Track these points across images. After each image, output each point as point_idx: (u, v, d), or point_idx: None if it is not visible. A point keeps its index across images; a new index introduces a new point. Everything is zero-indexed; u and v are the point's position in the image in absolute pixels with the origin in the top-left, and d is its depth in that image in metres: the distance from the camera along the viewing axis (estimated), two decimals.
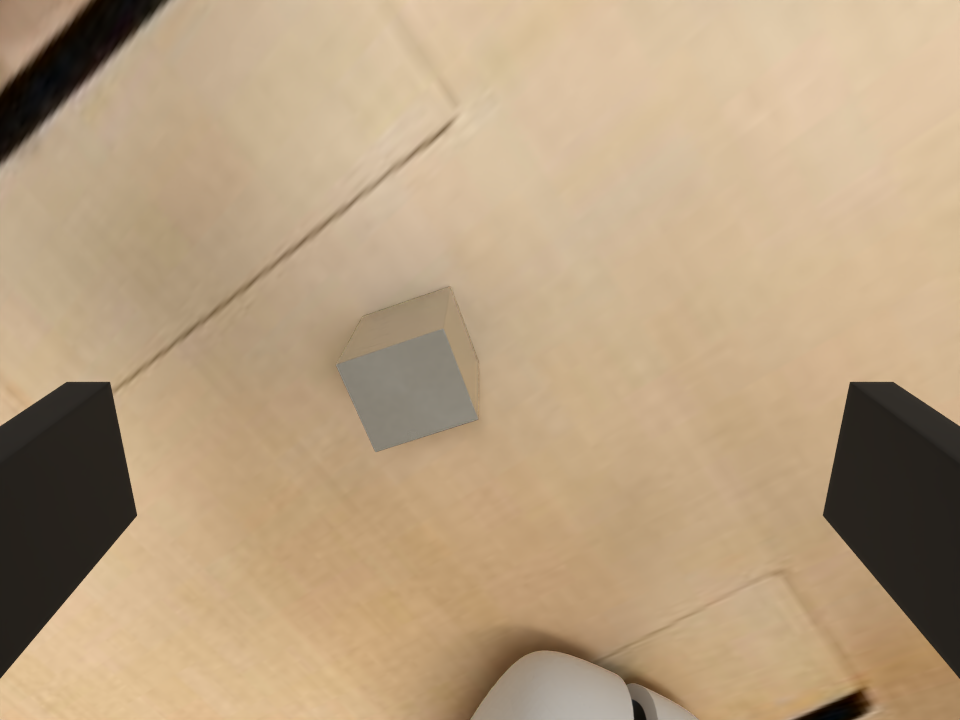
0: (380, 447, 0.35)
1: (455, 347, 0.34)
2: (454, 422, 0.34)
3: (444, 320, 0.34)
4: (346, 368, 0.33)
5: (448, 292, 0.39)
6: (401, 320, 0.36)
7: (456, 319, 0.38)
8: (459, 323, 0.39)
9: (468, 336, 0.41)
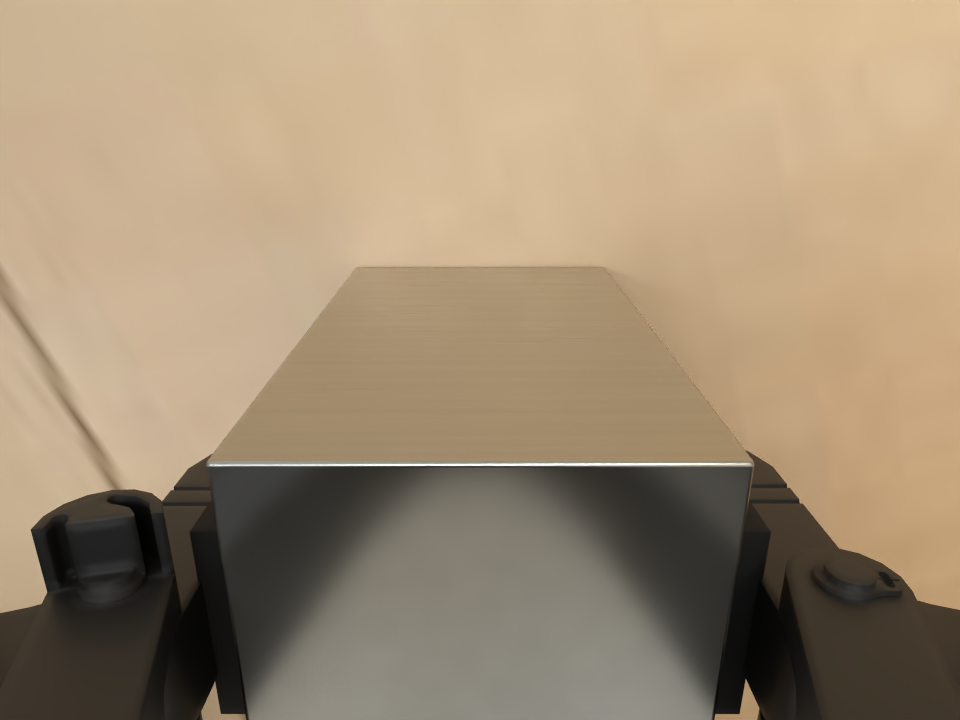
0: None
1: (388, 402, 0.07)
2: (714, 573, 0.07)
3: (252, 404, 0.08)
4: None
5: None
6: None
7: (404, 303, 0.11)
8: (433, 294, 0.12)
9: (511, 271, 0.13)
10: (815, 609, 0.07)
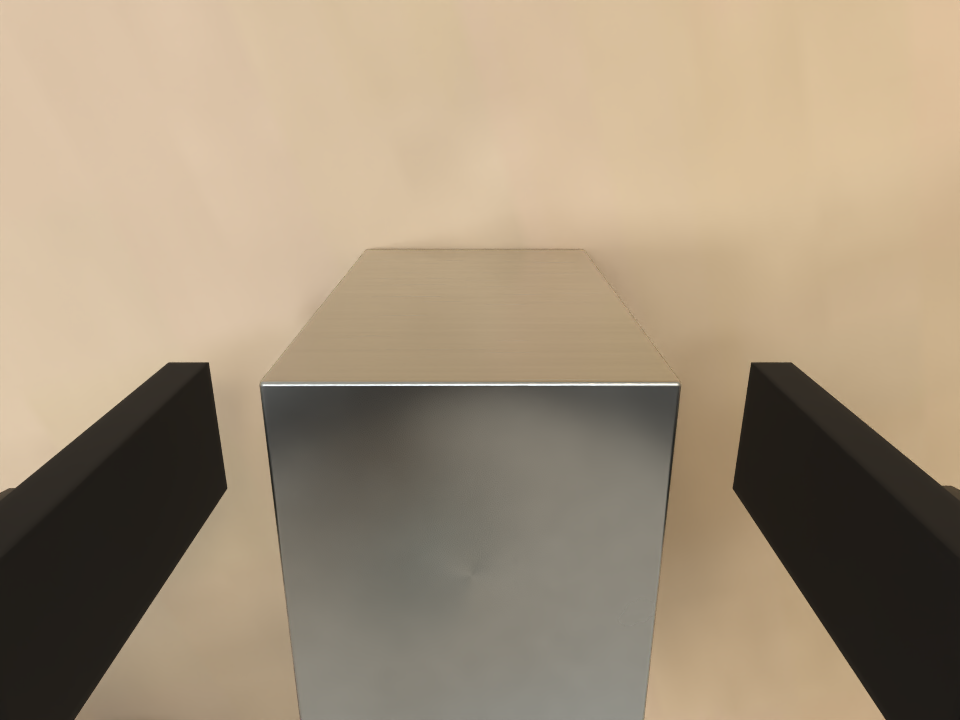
0: (632, 714, 0.10)
1: (398, 344, 0.09)
2: (654, 473, 0.09)
3: (289, 346, 0.09)
4: (322, 710, 0.10)
5: None
6: None
7: (409, 276, 0.13)
8: (434, 269, 0.14)
9: (502, 252, 0.15)
10: None
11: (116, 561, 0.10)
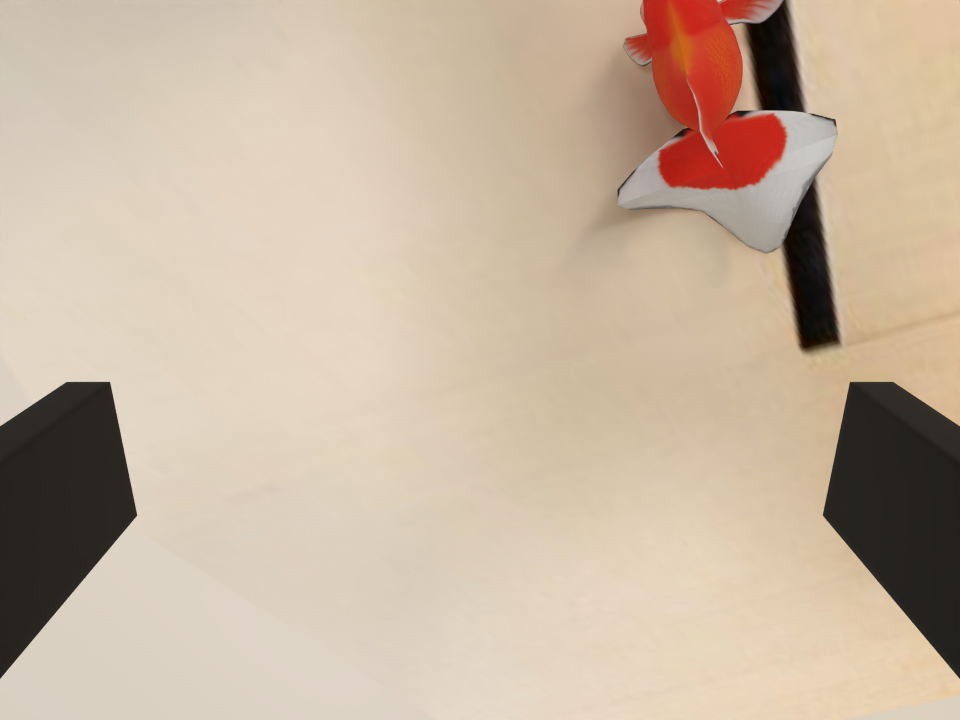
0: None
1: None
2: None
3: None
4: None
5: None
6: None
7: None
8: None
9: None
10: None
11: None
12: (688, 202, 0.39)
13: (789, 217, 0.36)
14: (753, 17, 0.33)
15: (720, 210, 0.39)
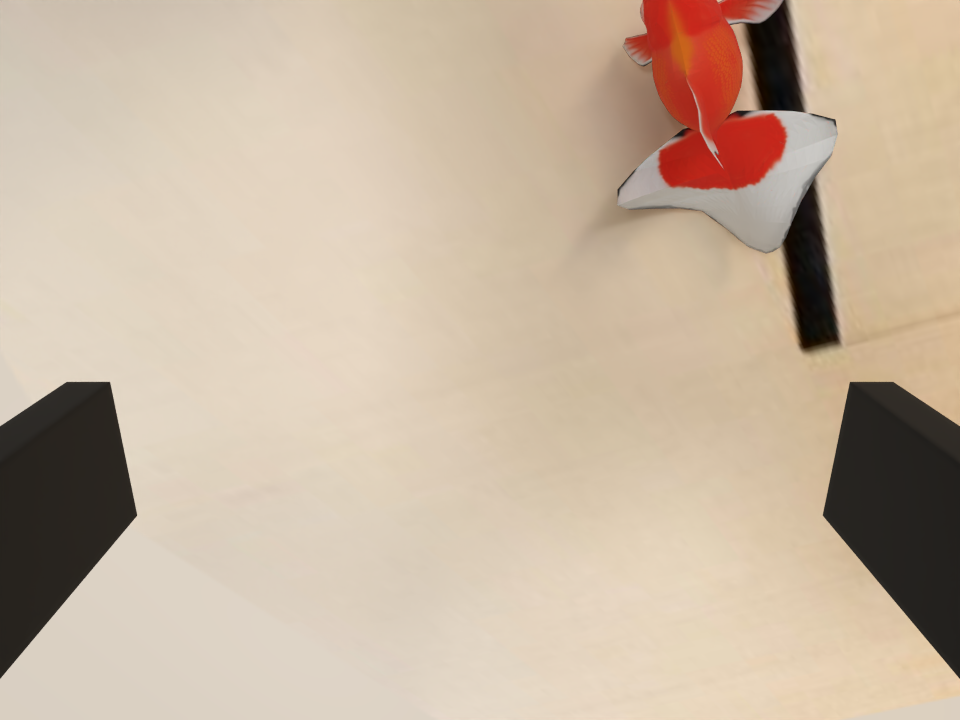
0: None
1: None
2: None
3: None
4: None
5: None
6: None
7: None
8: None
9: None
10: None
11: None
12: (688, 202, 0.39)
13: (789, 217, 0.36)
14: (753, 17, 0.33)
15: (720, 210, 0.39)
